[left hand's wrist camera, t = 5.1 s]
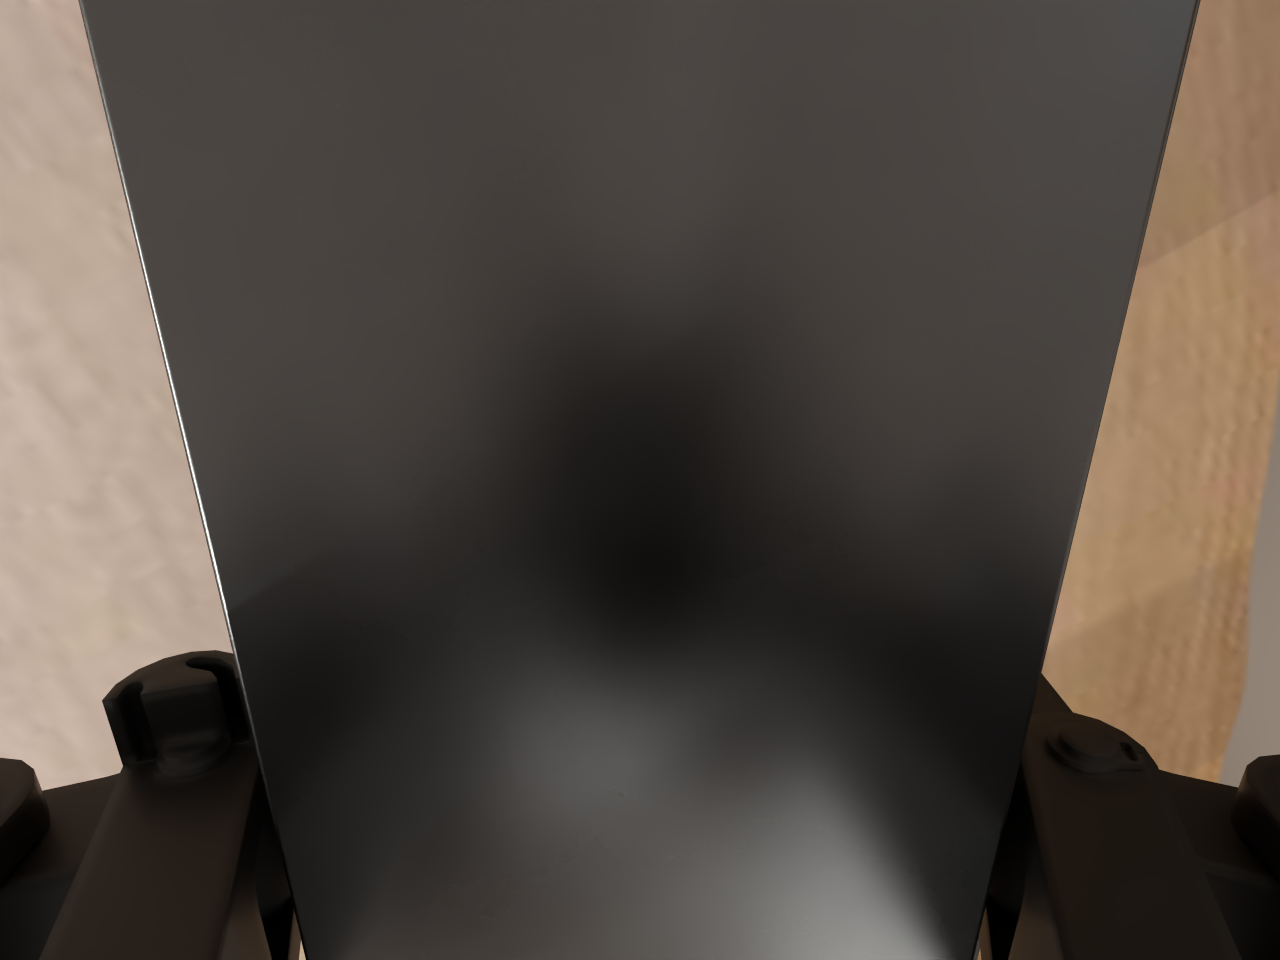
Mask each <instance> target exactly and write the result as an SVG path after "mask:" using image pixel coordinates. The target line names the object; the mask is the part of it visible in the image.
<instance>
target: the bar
mask: <svg viewBox="0 0 1280 960" xmlns="http://www.w3.org/2000/svg"><path fill="white" fill-rule="evenodd" d="M78 1H79V5H80V9H81V13H82V17H83V22H84V26H85V30H86V34H87V39H88V43H89V47H90V51H91V55H92V60H93V64H94V68H95V72H96V77H97V81H98V85H99V89H100V93H101V98H102V102H103V106H104V110H105V114H106V119H107V123H108V127H109V131H110V136H111V140H112V144H113V148H114V152H115V157H116V161H117V165H118V169H119V173H120V178H121V182H122V186H123V190H124V195H125V199H126V203H127V207H128V211H129V216H130V220H131V224H132V228H133V232H134V237H135V241H136V245H137V249H138V254H139V258H140V262H141V266H142V270H143V275H144V279H145V283H146V287H147V292H148V296H149V300H150V304H151V308H152V313H153V317H154V321H155V325H156V329H157V334H158V338H159V342H160V346H161V351H162V355H163V359H164V363H165V367H166V372H167V376H168V380H169V384H170V388H171V393H172V397H173V401H174V405H175V410H176V414H177V418H178V422H179V426H180V431H181V435H182V439H183V443H184V447H185V452H186V456H187V460H188V464H189V469H190V473H191V477H192V481H193V485H194V490H195V494H196V498H197V502H198V507H199V511H200V515H201V519H202V523H203V528H204V532H205V536H206V540H207V544H208V549H209V553H210V557H211V561H212V566H213V570H214V574H215V578H216V582H217V587H218V591H219V595H220V599H221V603H222V608H223V612H224V616H225V620H226V625H227V629H228V633H229V637H230V641H231V646H232V650H233V654H234V658H235V662H236V667H237V671H238V675H239V679H240V684H241V688H242V692H243V696H244V700H245V705H246V709H247V713H248V717H249V722H250V726H251V730H252V734H253V738H254V743H255V747H256V751H257V755H258V759H259V764H260V768H261V772H262V776H263V781H264V785H265V789H266V793H267V797H268V802H269V806H270V810H271V814H272V818H273V823H274V827H275V831H276V835H277V840H278V844H279V848H280V852H281V856H282V861H283V865H284V869H285V873H286V877H287V882H288V886H289V890H290V894H291V899H292V903H293V907H294V911H295V915H296V920H297V924H298V928H299V932H300V937H301V941H302V945H303V949H304V953H305V958H306V960H973V958H974V954H975V950H976V946H977V942H978V937H979V933H980V929H981V925H982V920H983V916H984V912H985V908H986V904H987V899H988V895H989V891H990V887H991V882H992V878H993V874H994V870H995V866H996V861H997V857H998V853H999V849H1000V844H1001V840H1002V836H1003V832H1004V828H1005V823H1006V819H1007V815H1008V811H1009V806H1010V802H1011V798H1012V794H1013V790H1014V785H1015V781H1016V777H1017V773H1018V768H1019V764H1020V760H1021V756H1022V752H1023V747H1024V743H1025V739H1026V735H1027V730H1028V726H1029V722H1030V718H1031V714H1032V709H1033V705H1034V701H1035V697H1036V692H1037V688H1038V684H1039V680H1040V676H1041V671H1042V667H1043V663H1044V659H1045V654H1046V650H1047V646H1048V642H1049V638H1050V633H1051V629H1052V625H1053V621H1054V616H1055V612H1056V608H1057V604H1058V600H1059V595H1060V591H1061V587H1062V583H1063V578H1064V574H1065V570H1066V566H1067V562H1068V557H1069V553H1070V549H1071V545H1072V540H1073V536H1074V532H1075V528H1076V524H1077V519H1078V515H1079V511H1080V507H1081V502H1082V498H1083V494H1084V490H1085V486H1086V481H1087V477H1088V473H1089V469H1090V465H1091V460H1092V456H1093V452H1094V448H1095V443H1096V439H1097V435H1098V431H1099V427H1100V422H1101V418H1102V414H1103V410H1104V405H1105V401H1106V397H1107V393H1108V389H1109V384H1110V380H1111V376H1112V372H1113V367H1114V363H1115V359H1116V355H1117V351H1118V346H1119V342H1120V338H1121V334H1122V329H1123V325H1124V321H1125V317H1126V313H1127V308H1128V304H1129V300H1130V296H1131V291H1132V287H1133V283H1134V279H1135V275H1136V270H1137V266H1138V262H1139V258H1140V253H1141V249H1142V245H1143V241H1144V237H1145V232H1146V228H1147V224H1148V220H1149V215H1150V211H1151V207H1152V203H1153V199H1154V194H1155V190H1156V186H1157V182H1158V177H1159V173H1160V169H1161V165H1162V161H1163V156H1164V152H1165V148H1166V144H1167V139H1168V135H1169V131H1170V127H1171V123H1172V118H1173V114H1174V110H1175V106H1176V101H1177V97H1178V93H1179V89H1180V85H1181V80H1182V76H1183V72H1184V68H1185V63H1186V59H1187V55H1188V51H1189V47H1190V42H1191V38H1192V34H1193V30H1194V25H1195V21H1196V17H1197V13H1198V9H1199V4H1200V0H78Z"/></svg>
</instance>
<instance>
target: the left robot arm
mask: <svg viewBox="0 0 1280 960" xmlns="http://www.w3.org/2000/svg"><path fill="white" fill-rule="evenodd" d="M102 702H103V705H104V708H105V711H106V714H107V717H108V721H109V724H110V727H111V730H112V733H113V736H114V739H115V742H116V745H117V748H118V752H119V755H120V758H121V761H122V764H123V768H122V770H121V772H120V773H119V774H115V775H112V776H108V777H104V778H100V779H95V780H90V781H86V782H81V783H76V784H72V785H67V786H63V787H58V788H53V789H49V790H44V791H42V790H41V787H40V784H39V782H38V779H37V777H36V774H35V771H34V769H33V768H31V767H30V766H29V765H27V764H26V763H25V762H23V761H22V760H15V759H6V758H0V960H299V952H300V942H301V937H300V932H299V928H298V924H297V920H296V915H295V911H294V907H293V903H292V899H291V894H290V890H289V886H288V882H287V877H286V873H285V869H284V865H283V861H282V856H281V852H280V848H279V844H278V840H277V835H276V831H275V827H274V823H273V818H272V814H271V810H270V806H269V802H268V797H267V793H266V789H265V785H264V781H263V776H262V772H261V768H260V764H259V759H258V755H257V751H256V747H255V743H254V738H253V734H252V730H251V726H250V722H249V717H248V713H247V709H246V705H245V700H244V696H243V692H242V688H241V684H240V679H239V675H238V671H237V667H236V662H235V658H234V654H232V653H227V652H222V651H217V650H213V651H197V652H189V653H184V654H180V655H176V656H172V657H168V658H164V659H162V660H159V661H157V662H155V663H152V664H150V665H148V666H145V667H143V668H141V669H138V670H137V671H135V672H134V673H132V674H131V675H129V676H128V677H126V678H125V679H123V680H122V681H120V682H119V683H117V684H116V685H115V686H114V687H113V688H112V689H111V691H110V692H109V693H108V694H107V695H106V697H105V698H104V699H103V700H102ZM979 950H981V959H982V960H1280V755H1270V756H1261V757H1258V758H1257V759H1255V760H1254V761H1253V762H1251V763H1250V764H1248V765H1247V767H1246V769H1245V772H1244V775H1243V777H1242V780H1241V783H1240V785H1239V788H1237V787H1232V786H1228V785H1224V784H1219V783H1214V782H1210V781H1205V780H1200V779H1196V778H1191V777H1186V776H1182V775H1177V774H1173V773H1169V772H1166V771H1162V770H1159V769H1158V766H1157V765H1156V763H1155V762H1154V760H1153V759H1152V758H1151V756H1150V755H1149V753H1148V752H1147V751H1146V749H1145V748H1144V747H1143V746H1141V745H1140V744H1139V743H1138V742H1136V741H1135V740H1134V739H1132V738H1131V737H1130V736H1128V735H1127V734H1126V733H1125V732H1123V731H1121V730H1119V729H1117V728H1115V727H1113V726H1111V725H1109V724H1107V723H1104V722H1102V721H1100V720H1098V719H1094V718H1091V717H1087V716H1084V715H1080V714H1076V713H1073V712H1072V711H1071V709H1070V708H1069V707H1068V706H1067V705H1066V703H1065V702H1064V701H1063V700H1062V698H1061V697H1060V696H1059V695H1058V693H1057V692H1056V691H1055V690H1054V688H1053V687H1052V686H1051V685H1050V683H1049V682H1048V681H1047V680H1046V678H1045V677H1044V676H1043V675H1042V673H1041V676H1040V680H1039V684H1038V688H1037V692H1036V697H1035V701H1034V705H1033V709H1032V714H1031V718H1030V722H1029V726H1028V730H1027V735H1026V739H1025V743H1024V747H1023V752H1022V756H1021V760H1020V764H1019V768H1018V773H1017V777H1016V781H1015V785H1014V790H1013V794H1012V798H1011V802H1010V806H1009V811H1008V815H1007V819H1006V823H1005V828H1004V832H1003V836H1002V840H1001V844H1000V849H999V853H998V857H997V861H996V866H995V870H994V874H993V878H992V882H991V887H990V891H989V895H988V899H987V904H986V908H985V912H984V916H983V920H982V925H981V929H980V933H979V937H978V942H977V946H976V950H975V954H974V958H973V960H977V958H978V954H979Z"/></svg>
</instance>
